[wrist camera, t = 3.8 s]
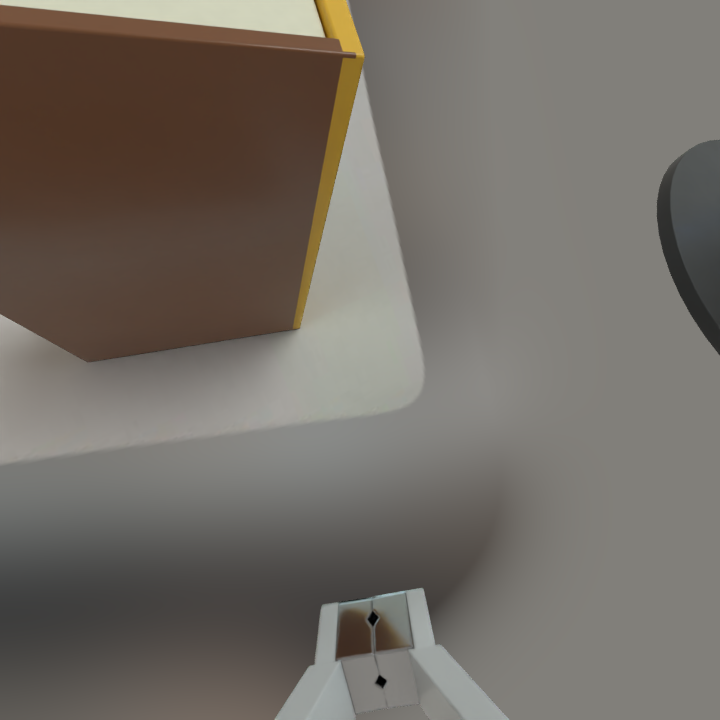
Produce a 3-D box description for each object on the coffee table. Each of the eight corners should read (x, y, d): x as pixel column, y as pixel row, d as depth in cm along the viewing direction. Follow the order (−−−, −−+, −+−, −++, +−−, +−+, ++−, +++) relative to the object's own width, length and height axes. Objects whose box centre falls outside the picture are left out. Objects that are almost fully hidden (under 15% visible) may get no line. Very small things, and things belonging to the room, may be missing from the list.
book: (288, 280, 20) (327, -57, 7) (300, 328, 19) (366, 56, 6) (81, 304, 17) (-540, -220, 4) (87, 362, 16) (-631, -33, 3)
